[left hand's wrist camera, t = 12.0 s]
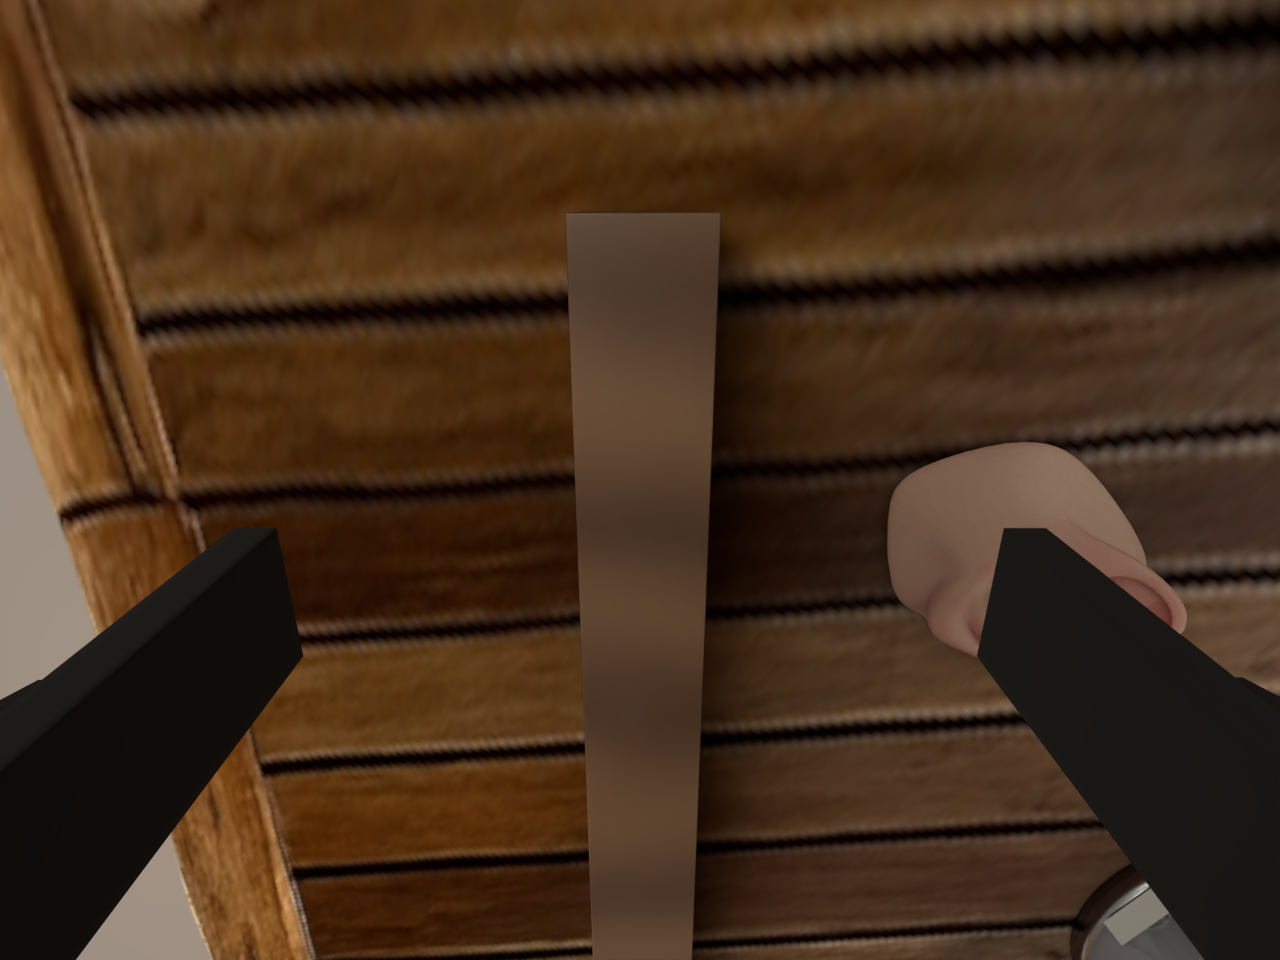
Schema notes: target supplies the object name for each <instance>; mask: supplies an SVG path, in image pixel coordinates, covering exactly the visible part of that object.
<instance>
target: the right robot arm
mask: <svg viewBox="0 0 1280 960" xmlns="http://www.w3.org/2000/svg"><path fill="white" fill-rule="evenodd" d="M1071 954H1072V958H1073V960H1204V959H1203V958H1202V956H1201V955H1200V954H1199V952H1198V951H1197V950H1196V948H1195V947H1194V946H1193V944H1192V943H1191V942H1190V940H1189V939H1188V938H1187V936H1186V935H1185V934H1184V932H1183V931H1182V930H1181V928H1180V927H1179V925H1178V924H1177V923H1176V921H1175V920H1174V919H1173V917H1172V916H1171V915H1170V913H1169V912H1168V911H1167V909H1166V908H1165V907H1164V905H1163V904H1162V903H1161V901H1160V900H1159V899H1158V897H1157V896H1156V895H1155V893H1154V892H1153V891H1152V889H1151V888H1150V887H1149V885H1148V884H1147V883H1146V881H1145V880H1144V879H1143V877H1142V876H1141V875H1140V873H1139V872H1138V871H1137V869H1136V868H1135V867H1134V866H1132V867H1130V868H1129V869H1127V870H1125V871H1124V872H1122V873H1121V874H1119V875H1118V876H1116V877H1115V878H1114V879H1112V880H1111V881H1110V882H1108V883H1107V884H1106V885H1105V886H1104V887H1103V888H1101V889H1100V890H1099V891H1098V892H1097V893H1096V894H1095V895H1094V896H1093V898H1092V899H1091V900H1090V901H1089V902H1088V904H1087V905H1086V906H1085V908H1084V909H1083V911H1082V912H1081V914H1080V916H1079V918H1078V920H1077V922H1076V924H1075V927H1074V930H1073V934H1072V939H1071Z"/></svg>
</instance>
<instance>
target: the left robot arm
mask: <svg viewBox="0 0 1280 960" xmlns="http://www.w3.org/2000/svg"><path fill="white" fill-rule="evenodd" d="M302 657H303V653H302V648H301V643H300V639H299V634H298V629H297V624H296V620H295V615H294V610H293V605H292V601H291V596H290V591H289V586H288V582H287V577H286V572H285V567H284V563H283V558H282V553H281V548H280V543H279V539H278V534H277V529H276V528H233V529H232V530H231V531H229V532H228V533H227V534H226V535H224V536H223V537H222V538H221V539H219V540H218V541H217V542H215V543H214V544H213V545H212V546H210V547H209V548H208V549H207V550H205V551H204V552H203V553H202V554H200V555H199V556H198V557H197V558H195V559H194V560H193V561H191V562H190V563H189V564H188V565H186V566H185V567H184V568H183V569H181V570H180V571H179V572H178V573H176V574H175V575H174V576H173V577H171V578H170V579H169V580H167V581H166V582H165V583H164V584H162V585H161V586H160V587H159V588H157V589H156V590H155V591H154V592H152V593H151V594H150V595H149V596H147V597H146V598H145V599H143V600H142V601H141V602H140V603H138V604H137V605H136V606H135V607H133V608H132V609H131V610H130V611H128V612H127V613H126V614H125V615H123V616H122V617H121V618H119V619H118V620H117V621H116V622H114V623H113V624H112V625H111V626H109V627H108V628H107V629H106V630H104V631H103V632H102V633H101V634H99V635H98V636H97V637H95V638H94V639H93V640H92V641H90V642H89V643H88V644H87V645H85V646H84V647H83V648H82V649H80V650H79V651H78V652H77V653H75V654H74V655H73V656H72V657H70V658H69V659H68V660H66V661H65V662H64V663H63V664H61V665H60V666H59V667H58V668H56V669H55V670H54V671H53V672H51V673H50V674H49V675H47V676H46V677H45V678H44V679H42V680H37V681H35V682H34V683H32V684H30V685H28V686H26V687H24V688H22V689H20V690H18V691H16V692H14V693H13V694H11V695H9V696H7V697H5V698H3V699H1V700H0V960H76V959H77V958H78V956H79V955H80V954H81V952H82V951H83V949H84V948H85V947H86V945H87V944H88V943H89V941H90V940H91V939H92V938H93V936H94V935H95V934H96V932H97V931H98V929H99V928H100V927H101V925H102V924H103V923H104V921H105V920H106V919H107V917H108V916H109V915H110V913H111V912H112V911H113V909H114V908H115V907H116V905H117V904H118V903H119V901H120V900H121V899H122V897H123V896H124V895H125V893H126V892H127V891H128V889H129V888H130V887H131V885H132V884H133V883H134V881H135V880H136V879H137V877H138V876H139V875H140V873H141V872H142V871H143V869H144V868H145V867H146V865H147V864H148V863H149V861H150V860H151V859H152V857H153V856H154V855H155V853H156V852H157V851H158V849H159V848H160V847H161V845H162V844H163V843H164V841H165V840H166V839H167V837H168V836H169V835H170V833H171V832H172V831H173V829H174V828H175V827H176V825H177V824H178V823H179V821H180V820H181V819H182V817H183V816H184V815H185V813H186V812H187V811H188V809H189V808H190V807H191V805H192V804H193V803H194V801H195V800H196V799H197V797H198V796H199V795H200V793H201V792H202V791H203V789H204V788H205V787H206V785H207V784H208V783H209V781H210V780H211V779H212V777H213V776H214V775H215V773H216V772H217V771H218V769H219V768H220V767H221V765H222V764H223V763H224V761H225V760H226V759H227V757H228V756H229V755H230V753H231V752H232V751H233V749H234V748H235V747H236V745H237V744H238V743H239V741H240V740H241V739H242V737H243V736H244V735H245V733H246V732H247V731H248V729H249V728H250V727H251V725H252V724H253V723H254V721H255V720H256V719H257V717H258V716H259V714H260V713H261V712H262V710H263V709H264V708H265V706H266V705H267V704H268V702H269V701H270V700H271V698H272V697H273V696H274V694H275V693H276V692H277V690H278V689H279V688H280V686H281V685H282V684H283V682H284V681H285V680H286V678H287V677H288V676H289V674H290V673H291V672H292V670H293V669H294V668H295V666H296V665H297V664H298V662H299V661H300V660H301V658H302ZM977 657H978V658H979V660H980V661H981V662H982V664H983V665H984V666H985V668H986V669H987V670H988V672H989V673H990V674H991V676H992V677H993V678H994V680H995V681H996V682H997V684H998V685H999V686H1000V688H1001V689H1002V690H1003V692H1004V693H1005V694H1006V696H1007V697H1008V698H1009V700H1010V701H1011V702H1012V704H1013V705H1014V706H1015V708H1016V709H1017V710H1018V712H1019V713H1020V714H1021V716H1022V717H1023V719H1024V720H1025V721H1026V723H1027V724H1028V725H1029V727H1030V728H1031V729H1032V731H1033V732H1034V733H1035V735H1036V736H1037V737H1038V739H1039V740H1040V741H1041V743H1042V744H1043V745H1044V747H1045V748H1046V749H1047V751H1048V752H1049V753H1050V755H1051V756H1052V757H1053V759H1054V760H1055V761H1056V763H1057V764H1058V765H1059V767H1060V768H1061V769H1062V771H1063V772H1064V773H1065V775H1066V776H1067V777H1068V779H1069V780H1070V781H1071V783H1072V784H1073V785H1074V787H1075V788H1076V789H1077V791H1078V792H1079V793H1080V795H1081V796H1082V797H1083V799H1084V800H1085V801H1086V803H1087V804H1088V805H1089V807H1090V808H1091V809H1092V811H1093V812H1094V813H1095V815H1096V816H1097V817H1098V819H1099V820H1100V821H1101V823H1102V824H1103V825H1104V827H1105V828H1106V829H1107V831H1108V832H1109V833H1110V835H1111V836H1112V837H1113V839H1114V840H1115V841H1116V843H1117V844H1118V845H1119V847H1120V848H1121V849H1122V851H1123V852H1124V853H1125V855H1126V856H1127V857H1128V859H1129V860H1130V861H1131V863H1132V864H1133V865H1134V867H1135V868H1136V869H1137V871H1138V872H1139V873H1140V875H1141V876H1142V877H1143V879H1144V880H1145V881H1146V883H1147V884H1148V885H1149V887H1150V888H1151V889H1152V891H1153V892H1154V893H1155V895H1156V896H1157V897H1158V899H1159V900H1160V901H1161V903H1162V904H1163V905H1164V907H1165V908H1166V909H1167V911H1168V912H1169V913H1170V915H1171V916H1172V917H1173V919H1174V920H1175V921H1176V923H1177V924H1178V925H1179V927H1180V928H1181V930H1182V931H1183V932H1184V934H1185V935H1186V936H1187V938H1188V939H1189V940H1190V942H1191V943H1192V944H1193V946H1194V947H1195V948H1196V950H1197V951H1198V952H1199V954H1200V955H1201V956H1202V958H1203V959H1204V960H1280V697H1279V696H1277V695H1275V694H1273V693H1271V692H1269V691H1267V690H1266V689H1264V688H1262V687H1260V686H1258V685H1256V684H1254V683H1252V682H1250V681H1248V680H1246V679H1245V678H1235V677H1234V676H1233V675H1231V674H1230V673H1229V672H1227V671H1226V670H1225V669H1224V668H1222V667H1221V666H1220V665H1219V664H1217V663H1216V662H1215V661H1214V660H1212V659H1211V658H1210V657H1209V656H1207V655H1206V654H1205V653H1203V652H1202V651H1201V650H1200V649H1198V648H1197V647H1196V646H1195V645H1193V644H1192V643H1191V642H1190V641H1188V640H1187V639H1186V638H1185V637H1183V636H1182V635H1181V634H1179V633H1178V632H1177V631H1176V630H1174V629H1173V628H1172V627H1171V626H1169V625H1168V624H1167V623H1166V622H1164V621H1163V620H1162V619H1161V618H1159V617H1158V616H1157V615H1155V614H1154V613H1153V612H1152V611H1150V610H1149V609H1148V608H1147V607H1145V606H1144V605H1143V604H1142V603H1140V602H1139V601H1138V600H1137V599H1135V598H1134V597H1133V596H1131V595H1130V594H1129V593H1128V592H1126V591H1125V590H1124V589H1123V588H1121V587H1120V586H1119V585H1118V584H1116V583H1115V582H1114V581H1113V580H1111V579H1110V578H1109V577H1107V576H1106V575H1105V574H1104V573H1102V572H1101V571H1100V570H1099V569H1097V568H1096V567H1095V566H1094V565H1092V564H1091V563H1090V562H1089V561H1087V560H1086V559H1085V558H1083V557H1082V556H1081V555H1080V554H1078V553H1077V552H1076V551H1075V550H1073V549H1072V548H1071V547H1070V546H1068V545H1067V544H1066V543H1065V542H1063V541H1062V540H1061V539H1059V538H1058V537H1057V536H1056V535H1054V534H1053V533H1052V532H1051V531H1049V530H1048V529H1047V528H1004V529H1003V534H1002V539H1001V543H1000V548H999V553H998V558H997V562H996V567H995V572H994V577H993V582H992V586H991V591H990V596H989V601H988V605H987V610H986V615H985V620H984V624H983V629H982V634H981V639H980V643H979V648H978V653H977Z"/></svg>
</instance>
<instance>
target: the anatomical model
mask: <svg viewBox="0 0 1280 960" xmlns="http://www.w3.org/2000/svg"><path fill="white" fill-rule="evenodd" d="M1004 528H1047V529H1048V530H1049V531H1051V532H1052V533H1053V534H1054V535H1056V536H1057V537H1058V538H1059V539H1061V540H1062V541H1063V542H1065V543H1066V544H1067V545H1068V546H1070V547H1071V548H1072V549H1073V550H1075V551H1076V552H1077V553H1078V554H1080V555H1081V556H1082V557H1083V558H1085V559H1086V560H1087V561H1089V562H1090V563H1091V564H1092V565H1094V566H1095V567H1096V568H1097V569H1099V570H1100V571H1101V572H1102V573H1104V574H1105V575H1106V576H1107V577H1109V578H1110V579H1111V580H1113V581H1114V582H1115V583H1116V584H1118V585H1119V586H1120V587H1121V588H1123V589H1124V590H1125V591H1126V592H1128V593H1129V594H1130V595H1131V596H1133V597H1134V598H1135V599H1137V600H1138V601H1139V602H1140V603H1142V604H1143V605H1144V606H1145V607H1147V608H1148V609H1149V610H1150V611H1152V612H1153V613H1154V614H1155V615H1157V616H1158V617H1159V618H1161V619H1162V620H1163V621H1164V622H1166V623H1167V624H1168V625H1169V626H1171V627H1172V628H1173V629H1174V630H1176V631H1177V632H1178V633H1179V634H1182V632H1183V631H1184V629H1185V626H1186V623H1187V613H1186V609H1185V607H1184V605H1183V603H1182V601H1181V599H1180V598H1179V596H1178V595H1177V594H1176V592H1175V591H1174V590H1173V589H1172V588H1171V587H1170V586H1169V585H1168V584H1167V583H1166V582H1165V581H1164V580H1163V579H1162V578H1161V577H1160V576H1158V575H1157V574H1156V573H1155V572H1154V571H1152V570H1151V569H1150V568H1149V567H1147V564H1146V557H1145V554H1144V550H1143V548H1142V546H1141V543H1140V541H1139V539H1138V537H1137V535H1136V534H1135V532H1134V530H1133V528H1132V526H1131V524H1130V523H1129V521H1128V520H1127V518H1126V517H1125V515H1124V514H1123V512H1122V511H1121V509H1120V508H1119V506H1118V505H1117V504H1116V502H1115V501H1114V499H1113V498H1112V497H1111V495H1110V494H1109V493H1108V491H1107V490H1106V489H1105V487H1104V486H1103V485H1102V484H1101V483H1100V481H1099V480H1098V479H1097V478H1096V477H1095V476H1094V474H1093V473H1092V472H1091V471H1090V470H1089V469H1088V468H1087V467H1086V466H1085V465H1084V464H1083V463H1082V462H1080V461H1079V460H1078V459H1077V458H1075V457H1074V456H1073V455H1071V454H1070V453H1068V452H1066V451H1065V450H1062V449H1060V448H1058V447H1055V446H1052V445H1049V444H1043V443H1037V442H1018V443H1004V444H999V445H993V446H987V447H983V448H979V449H975V450H971V451H967V452H963V453H960V454H957V455H954V456H951V457H948V458H945V459H941V460H939V461H936V462H934V463H931V464H929V465H926V466H924V467H922V468H920V469H918V470H916V471H914V472H913V473H911V474H910V475H908V476H907V477H906V478H905V479H904V480H902V481H901V482H900V484H899V485H898V486H897V488H896V489H895V491H894V493H893V495H892V498H891V502H890V507H889V514H888V534H887V556H888V564H889V570H890V576H891V581H892V586H893V589H894V591H895V594H896V595H897V597H898V598H899V600H900V601H901V602H902V603H903V604H904V605H905V606H907V607H908V608H909V609H911V610H912V611H914V612H916V613H917V614H919V615H921V616H923V617H924V618H926V621H927V625H928V628H929V630H930V631H931V633H932V634H933V635H934V636H935V637H936V638H937V639H938V640H939V641H941V642H943V643H945V644H947V645H949V646H951V647H953V648H956V649H958V650H960V651H962V652H965V653H967V654H969V655H971V656H973V657H976V658H978V657H977V653H978V648H979V643H980V639H981V634H982V629H983V624H984V620H985V615H986V610H987V605H988V601H989V596H990V591H991V586H992V582H993V577H994V572H995V567H996V562H997V558H998V553H999V548H1000V543H1001V539H1002V534H1003V529H1004ZM978 659H979V658H978Z"/></svg>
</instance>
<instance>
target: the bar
mask: <svg viewBox="0 0 1280 960" xmlns="http://www.w3.org/2000/svg"><path fill="white" fill-rule="evenodd" d="M565 222H566V249H567V276H568V303H569V329H570V356H571V383H572V410H573V437H574V464H575V490H576V517H577V544H578V571H579V598H580V625H581V651H582V678H583V705H584V732H585V759H586V786H587V812H588V839H589V866H590V893H591V920H592V947H593V960H692V946H693V920H694V895H695V869H696V844H697V818H698V793H699V767H700V742H701V716H702V690H703V665H704V639H705V614H706V588H707V563H708V537H709V512H710V486H711V460H712V435H713V409H714V384H715V358H716V333H717V307H718V282H719V256H720V230H721V213H717V212H706V211H580V212H570V213H566V214H565Z"/></svg>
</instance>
